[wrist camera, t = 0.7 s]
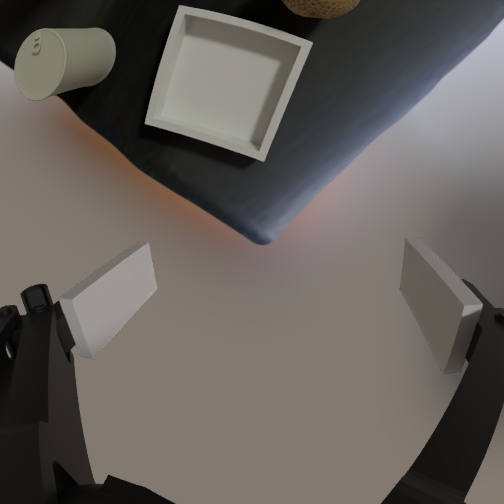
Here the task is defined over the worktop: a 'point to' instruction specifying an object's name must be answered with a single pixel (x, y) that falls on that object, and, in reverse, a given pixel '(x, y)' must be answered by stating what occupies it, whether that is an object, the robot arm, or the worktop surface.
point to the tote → (225, 80)
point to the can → (63, 61)
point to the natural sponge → (320, 7)
